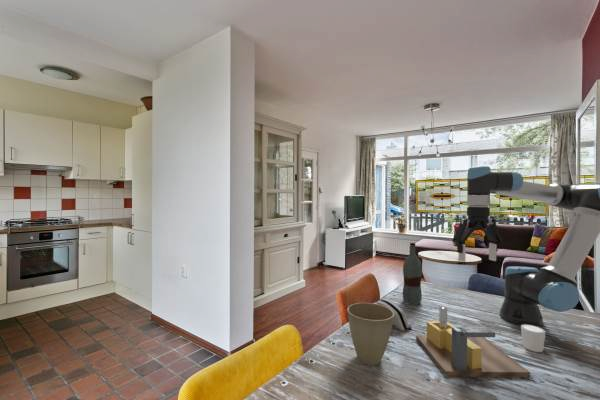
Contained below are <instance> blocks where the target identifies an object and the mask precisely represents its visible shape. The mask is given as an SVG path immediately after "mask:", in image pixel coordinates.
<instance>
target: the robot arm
mask: <svg viewBox="0 0 600 400" xmlns="http://www.w3.org/2000/svg"><path fill="white" fill-rule="evenodd" d="M466 179H467V183H466V185H467V187H466V189H467V190H466V192H467V193H466V195H467V198H466V201H467V202H466V204H467V208H466V216H467V218H460V219H459V225H458V227H457V229H456V232H455V234H454V236H453V239H452V242H453V243H455V244H456V247H457V248H456V249H457V250H456V251H457V253H458V261H459V262H463V263H466V244H465V243H466V242H467V240H468V239H469V237H470V236H471V235H472V234H473V233H474V232H475V231H477V232H478V231H481V232H483V233H484V235H485V236H486V237H487V239H488V240H489V241H490V242H489V243H488V260H490V261H493V262H496V261H497V252H498V245H501V243H503V236H501V233H500V231H499V228H498V226H497V220H496V218H489V217H490V213H491V212H490V209H491V208H490V207H489V206H491V202H490V201H491V197H490V196H491V194H494V195H499V196H504V197H511V198H518V199H521V200H522V199H523V200H527V201H535V202H541V203H544V204H545V205H547V206H550V207H555V208H560V209H564V210H568V211H569V210H570V211H572V212H574V213H575V216H574V217H573V219H572V221H571V223H570V225H569V226H568V228H567V230H566V232H565V234H564V235H563V237H562V239H561V241H560V243H559V245H558V246H557V248H556V249H555V251H554V254H553V255H552V256H551V259H550V260H549V262H548V264H547V265H546V266H543V267H540V268H539V269H538V268H537V267H530V266H516V265H515V266H514V265H513V266H507V267H506V268H505V269H504V270H505V271H504V300H503V302H502V304H501V307H500V308H499V317H500V318H502V319H503V320H505V321H507V322H510V323H512V324H516V325H520V326H521V325H524V324H526V325H533V326H537V327H542V326H543V325H544V317H543V316H542V312H541V310H540V308H539V307H540V306H542V307H543V308H545V309H547V310H551V311H554V312H558V313H559V312H560V313H562V312H563V313H565V312H568V311H570V310H572V309H573V308H575V307H576V306H577V304H578V303H579V302H580V301H579V300H580V292H579V289H578V288H577V286H578V283H579V282H577V280H576V276H577V275H578V273H579V270H580V269H581V267H582V266H583V264H584V261H585V260H586V258H587V256H588V255H589V253H590V251H591V249H592V248H593V246H594V244H595V242H596V240H597V239H598V237H599V235H600V183H599V182H597V183H595V182H594V183H577V184H558V183H552V184H549V185H548V184H543V183H536V182H530V181H525V180H524V177H523V176H522V174H521V173H519V172H514V171H513V172H512V171H500V172H497V171H495V172H494V171H491V167H490V166H485V165H480V166H471V167H469V168H468V169H467V175H466Z"/></svg>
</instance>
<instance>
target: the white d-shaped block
mask: <svg viewBox="0 0 600 400" xmlns="http://www.w3.org/2000/svg"><path fill="white" fill-rule="evenodd" d="M375 304H378V305H382V306H385V307H387V308H389V309H391V310H392V311H393V313H394V318H393V324H392V326H394V325H395V327H396V328H397V329H399V330H400V331H405V329H411V330H413V327H412V324H410V323H409V322H408V320H407V318H406V314H405V312H404V310H403V309H402V308H400V307H399V306H398V305H397V304H396V302H393V301H391V300H390V299H386V298H381V299H380V300H378V301H377V302H376V303H375Z"/></svg>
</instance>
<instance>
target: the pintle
mask: <svg viewBox="0 0 600 400" xmlns="http://www.w3.org/2000/svg"><path fill="white" fill-rule="evenodd" d="M438 317H439V318H438V321H439V328H440V329H447V322H448V307H446V306H439V315H438Z"/></svg>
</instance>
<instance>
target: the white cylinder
mask: <svg viewBox="0 0 600 400" xmlns="http://www.w3.org/2000/svg"><path fill="white" fill-rule="evenodd" d="M520 330H521V331H520V332H521V333H520V334H521V343H522V344H521V345H522V346H523V348H524V349H525V350H526V349H527V350H529V351H531V352H535V353H542V352H543V351H544V345H545V339H546V332H547V331H546V330H545V329H544V328H542V327H541V326H538V327H537V326H533V325H526V324H524V325H520Z"/></svg>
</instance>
